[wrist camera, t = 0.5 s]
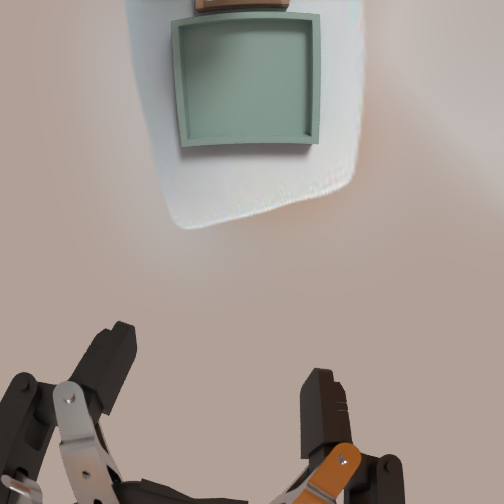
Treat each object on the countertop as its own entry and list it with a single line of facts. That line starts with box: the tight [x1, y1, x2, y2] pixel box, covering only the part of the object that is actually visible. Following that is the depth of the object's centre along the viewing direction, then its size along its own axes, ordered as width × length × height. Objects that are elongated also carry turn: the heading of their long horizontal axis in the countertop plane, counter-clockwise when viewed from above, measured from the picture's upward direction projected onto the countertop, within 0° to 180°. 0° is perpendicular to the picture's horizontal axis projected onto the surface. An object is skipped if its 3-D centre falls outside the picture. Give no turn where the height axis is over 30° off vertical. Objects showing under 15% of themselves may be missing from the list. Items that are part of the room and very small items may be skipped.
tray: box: [171, 12, 321, 147], centre depth 24 cm, size 15×15×2 cm
